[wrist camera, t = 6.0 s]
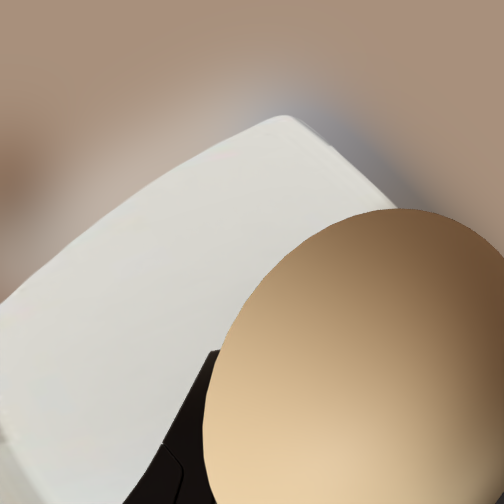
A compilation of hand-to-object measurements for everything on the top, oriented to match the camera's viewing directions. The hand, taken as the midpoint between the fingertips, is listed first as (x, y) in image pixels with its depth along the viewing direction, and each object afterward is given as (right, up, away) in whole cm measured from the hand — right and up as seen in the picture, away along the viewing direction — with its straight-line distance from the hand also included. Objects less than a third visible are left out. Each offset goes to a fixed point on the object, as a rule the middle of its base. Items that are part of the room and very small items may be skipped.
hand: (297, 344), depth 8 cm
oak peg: (0, -4, +5) cm, 7 cm away
